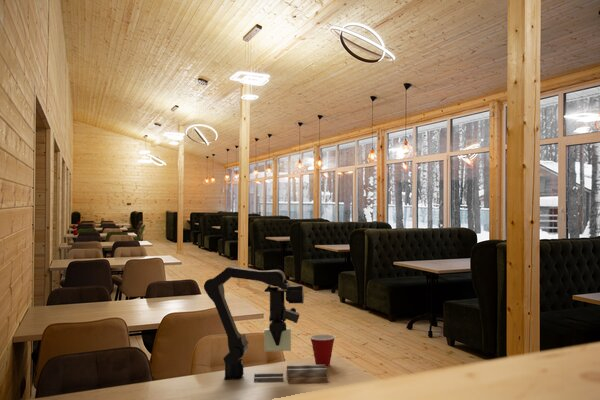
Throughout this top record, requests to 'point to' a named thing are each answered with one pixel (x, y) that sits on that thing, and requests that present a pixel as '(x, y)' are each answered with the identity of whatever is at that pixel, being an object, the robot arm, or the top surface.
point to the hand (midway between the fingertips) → (277, 344)
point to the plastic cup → (322, 348)
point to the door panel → (284, 341)
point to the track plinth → (306, 373)
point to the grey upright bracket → (268, 377)
